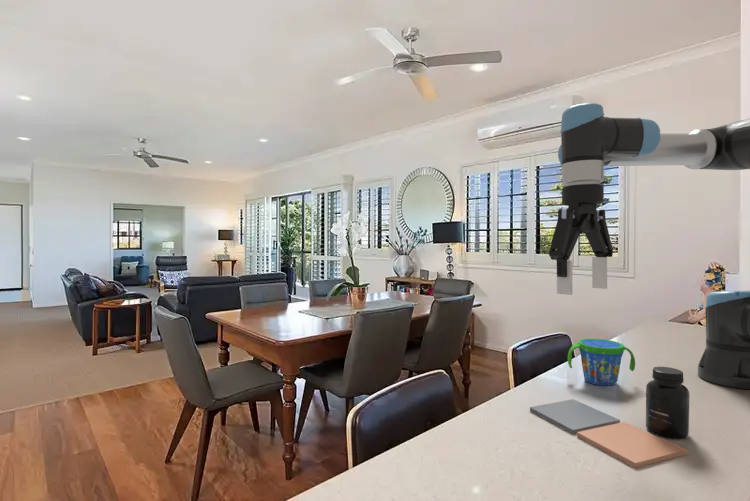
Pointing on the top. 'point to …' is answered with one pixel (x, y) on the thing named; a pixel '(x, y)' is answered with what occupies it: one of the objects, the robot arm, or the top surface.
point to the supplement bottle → (667, 404)
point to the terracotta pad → (631, 444)
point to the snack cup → (601, 360)
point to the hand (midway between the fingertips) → (583, 291)
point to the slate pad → (573, 415)
